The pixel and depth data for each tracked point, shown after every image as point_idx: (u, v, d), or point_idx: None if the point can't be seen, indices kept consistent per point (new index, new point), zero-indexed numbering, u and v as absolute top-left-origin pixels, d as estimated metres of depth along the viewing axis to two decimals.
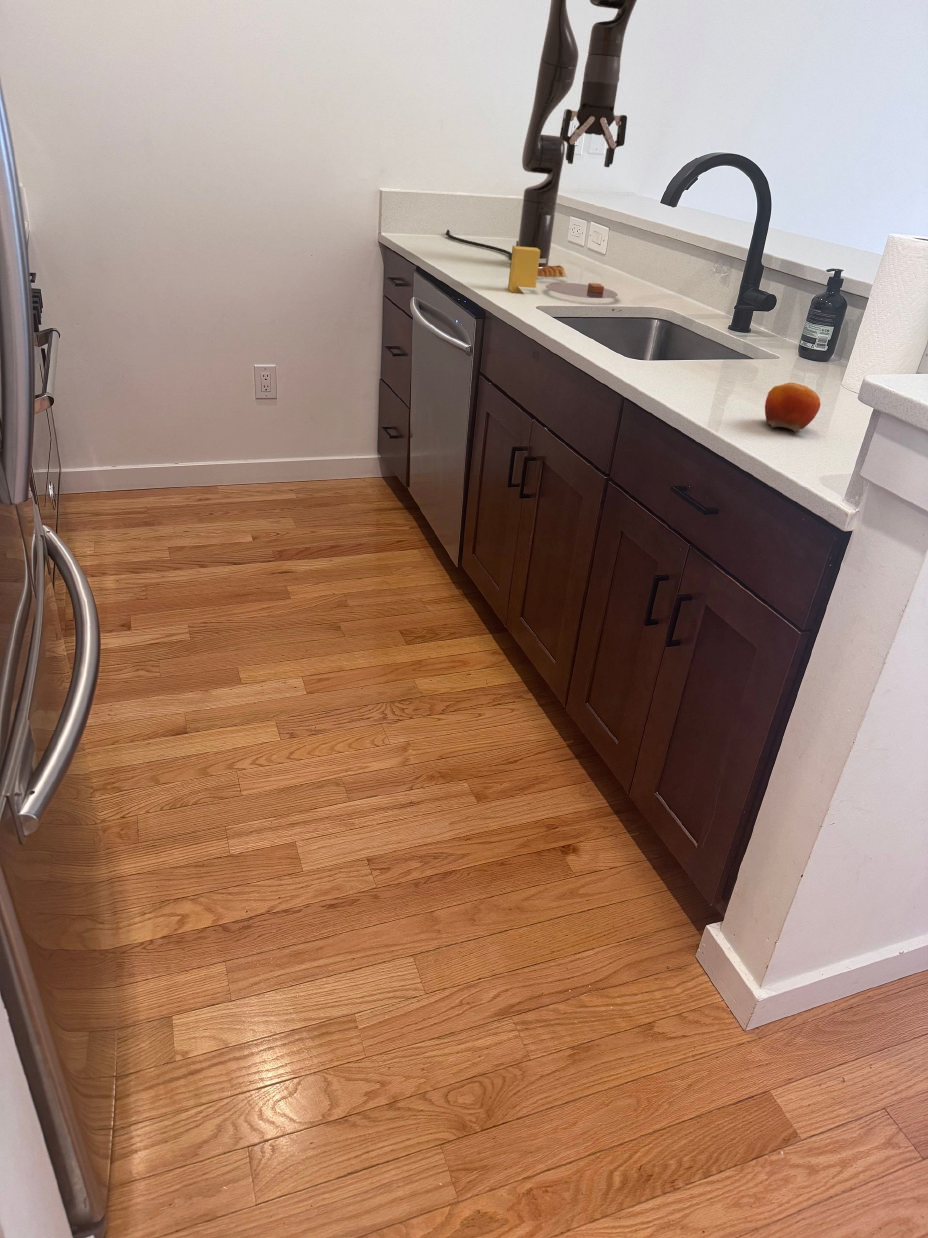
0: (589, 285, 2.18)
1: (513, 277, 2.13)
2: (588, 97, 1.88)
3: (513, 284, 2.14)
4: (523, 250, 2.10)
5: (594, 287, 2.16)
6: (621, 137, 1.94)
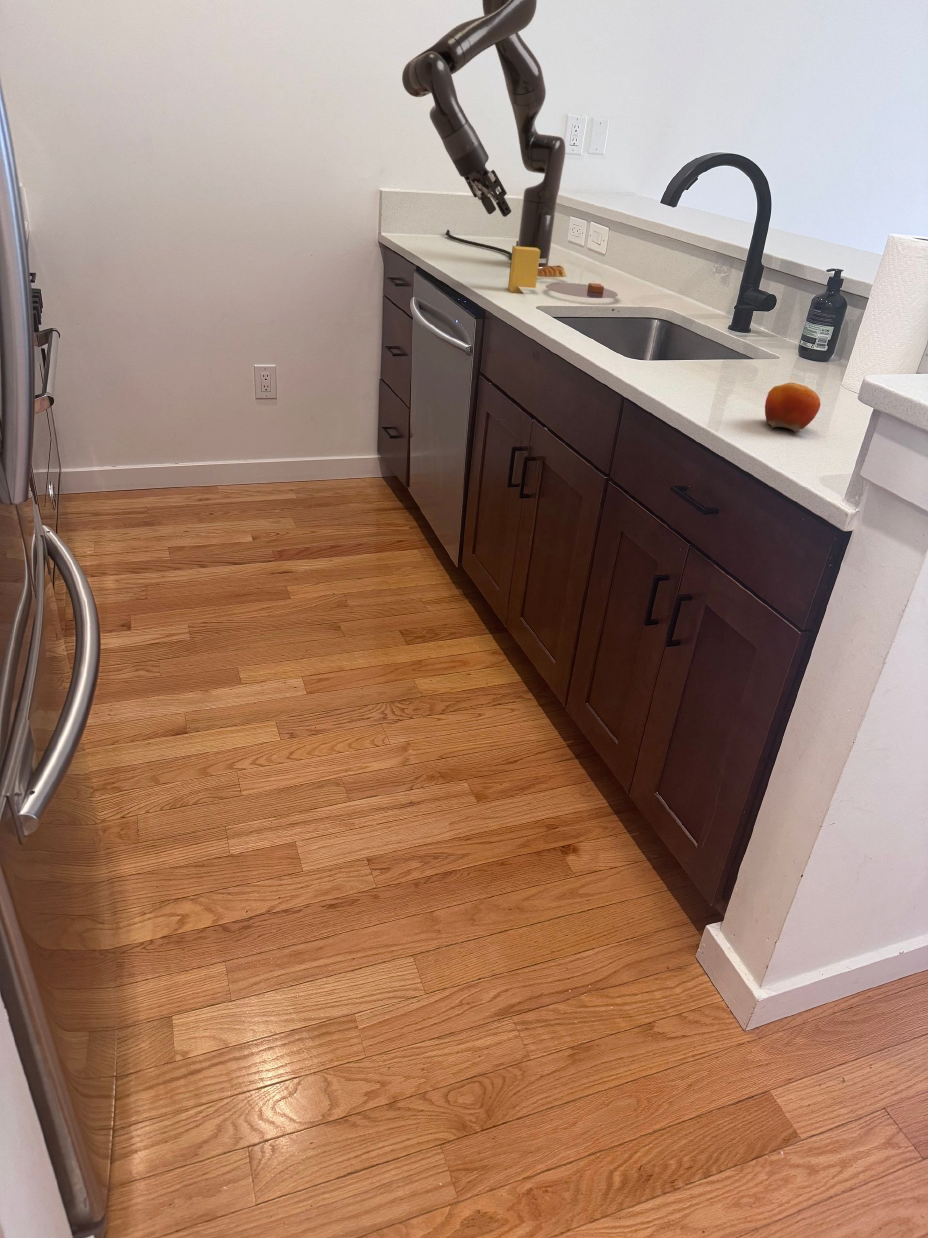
0: (589, 285, 2.18)
1: (513, 277, 2.13)
2: None
3: (513, 284, 2.14)
4: (523, 250, 2.10)
5: (594, 287, 2.16)
6: (494, 194, 1.97)
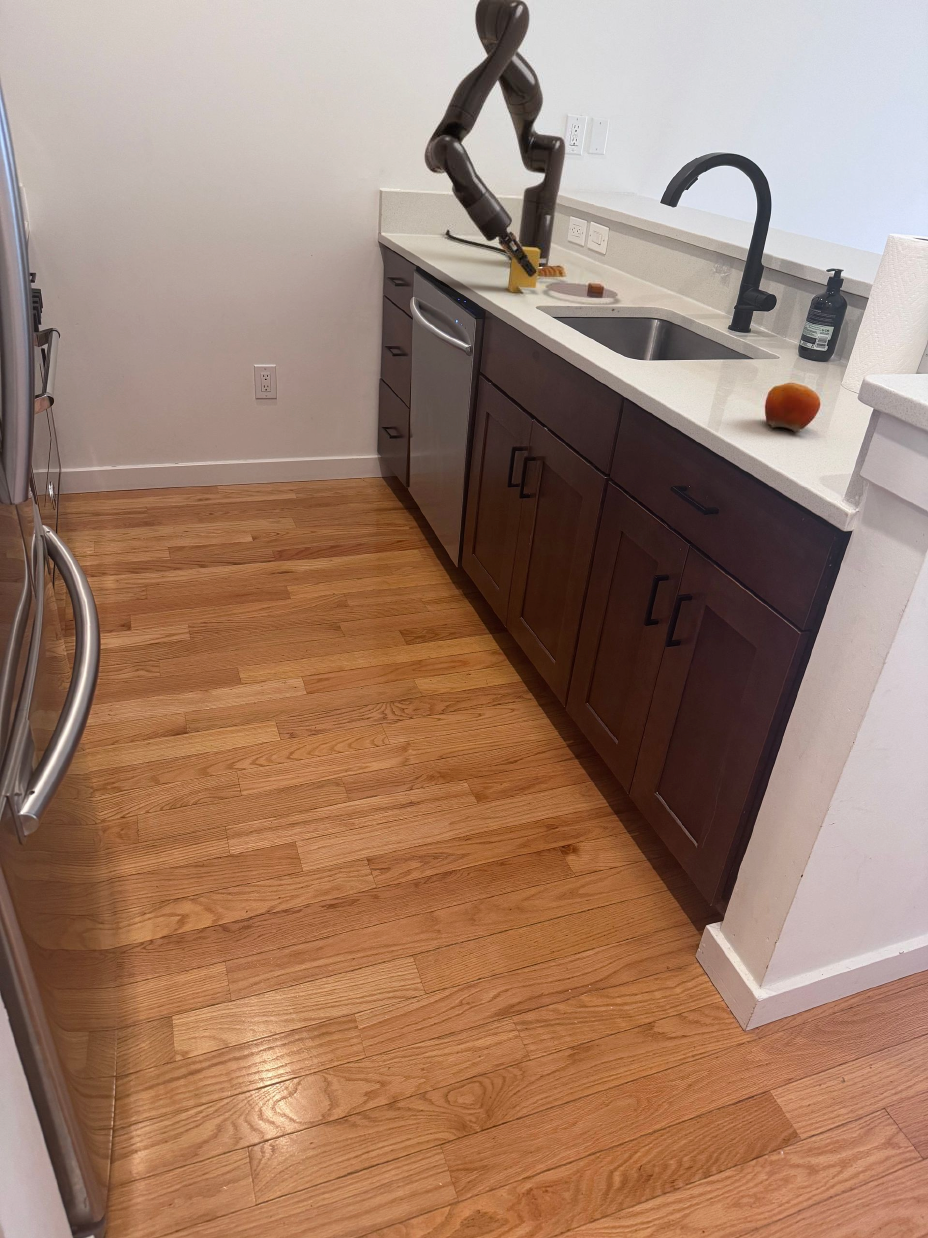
0: (589, 285, 2.18)
1: (513, 277, 2.13)
2: None
3: (513, 284, 2.14)
4: (523, 250, 2.10)
5: (594, 287, 2.16)
6: (516, 259, 2.08)
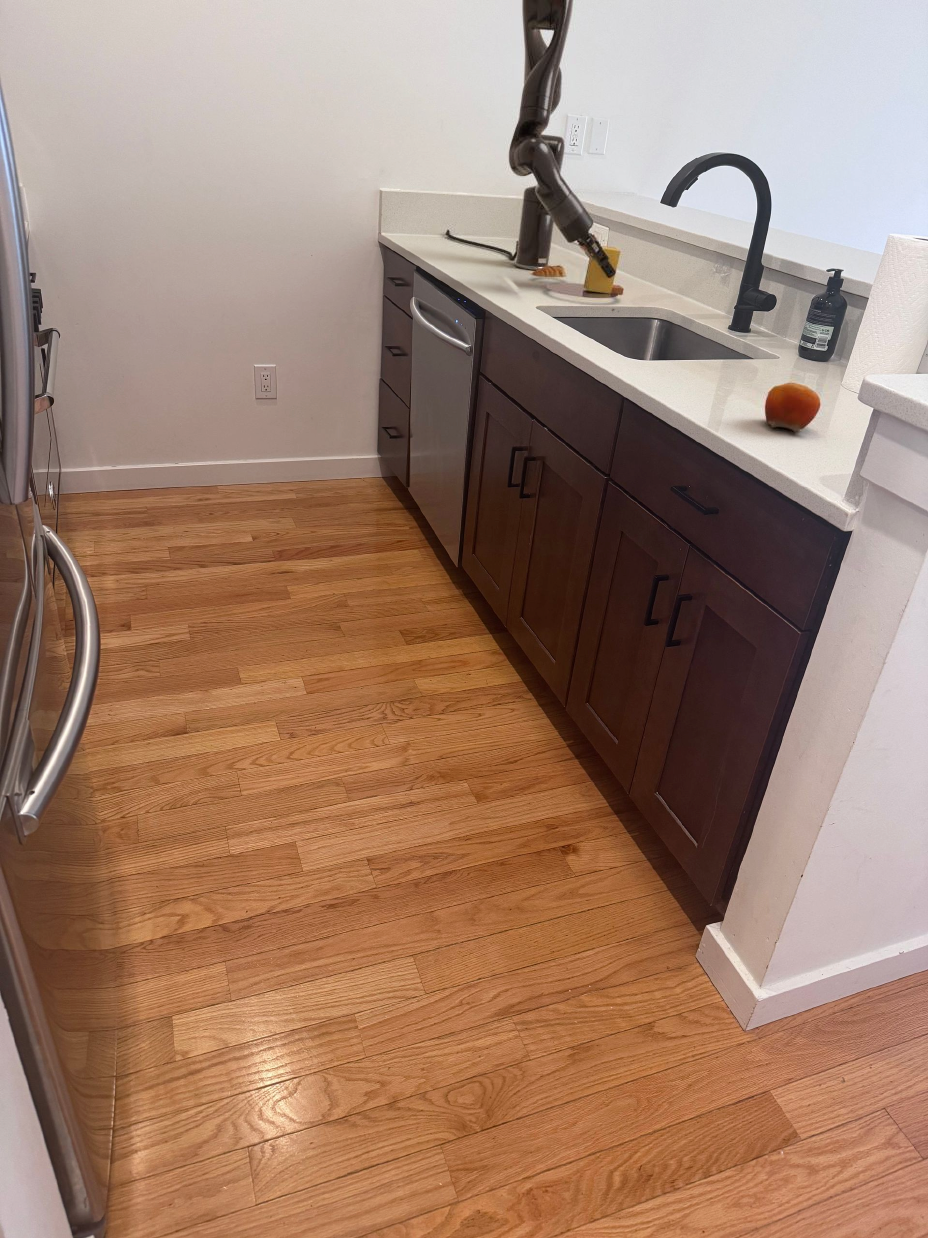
0: None
1: (591, 276, 2.14)
2: None
3: (591, 283, 2.15)
4: (604, 249, 2.11)
5: (614, 289, 2.16)
6: (597, 260, 2.10)
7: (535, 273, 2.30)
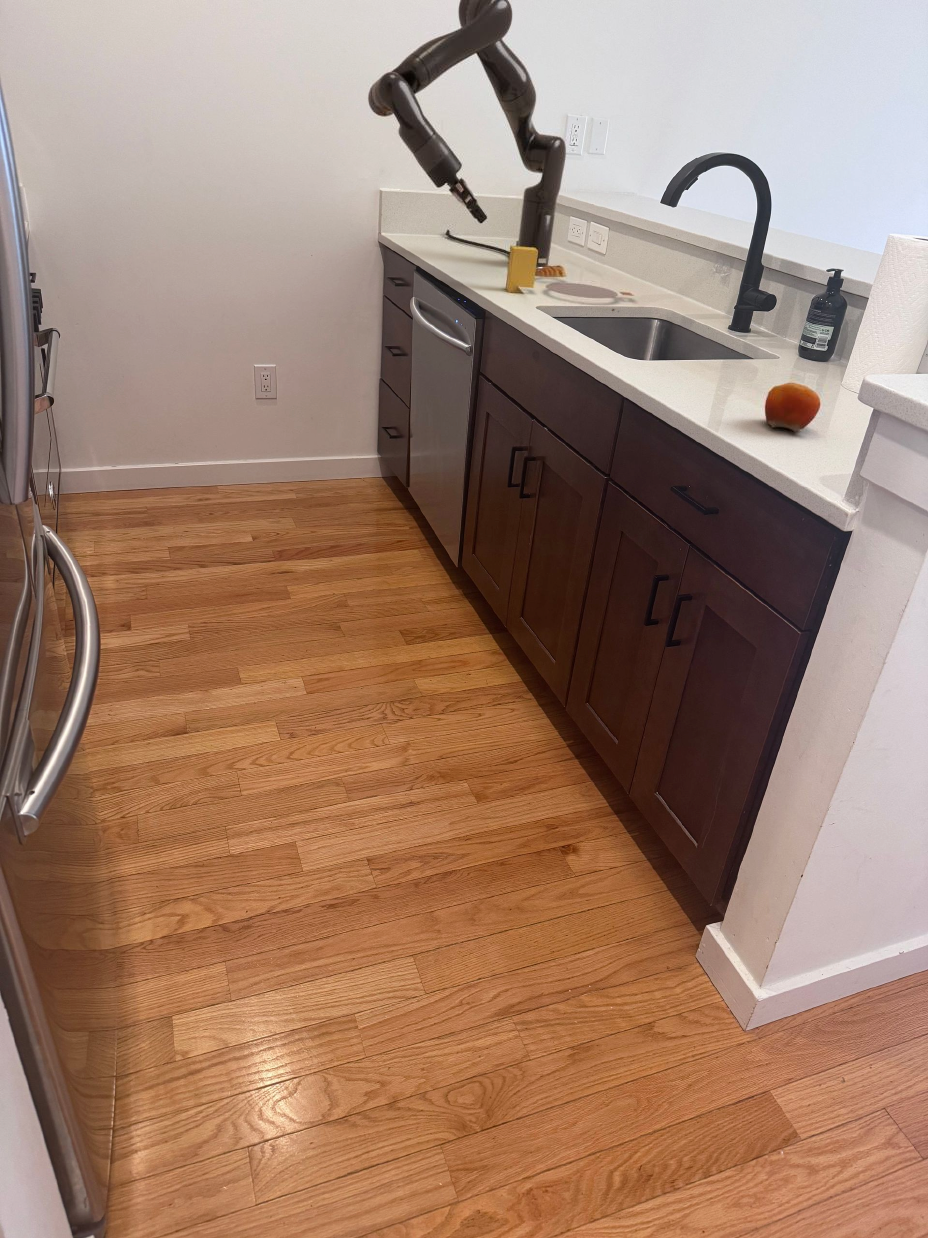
0: None
1: (511, 277, 2.13)
2: None
3: (511, 284, 2.13)
4: (521, 250, 2.10)
5: None
6: (464, 203, 1.99)
7: (535, 273, 2.30)
